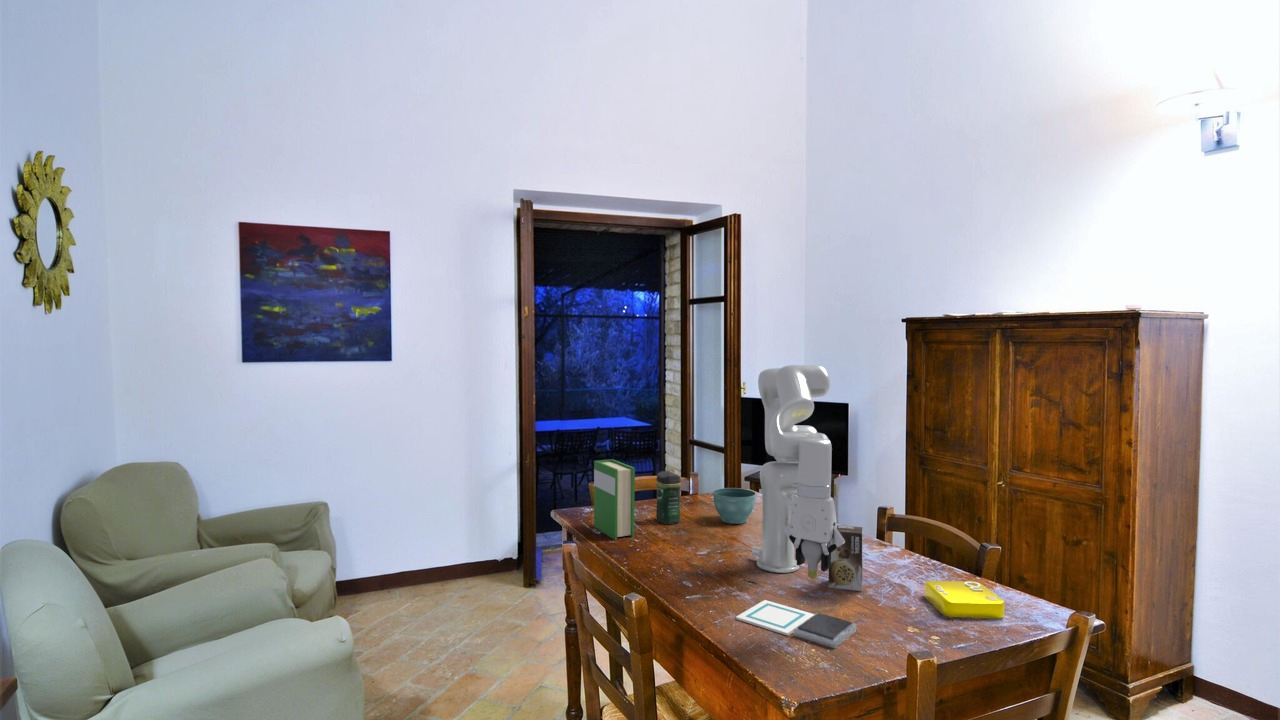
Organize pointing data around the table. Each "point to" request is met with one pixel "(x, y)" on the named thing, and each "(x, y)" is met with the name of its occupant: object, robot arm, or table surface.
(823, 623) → the ink pad
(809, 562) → the light bulb
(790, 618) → the marked board
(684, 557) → the table surface
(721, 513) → the flower pot
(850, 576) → the coffee box
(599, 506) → the hardback book
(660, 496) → the coffee jar
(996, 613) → the element tile
